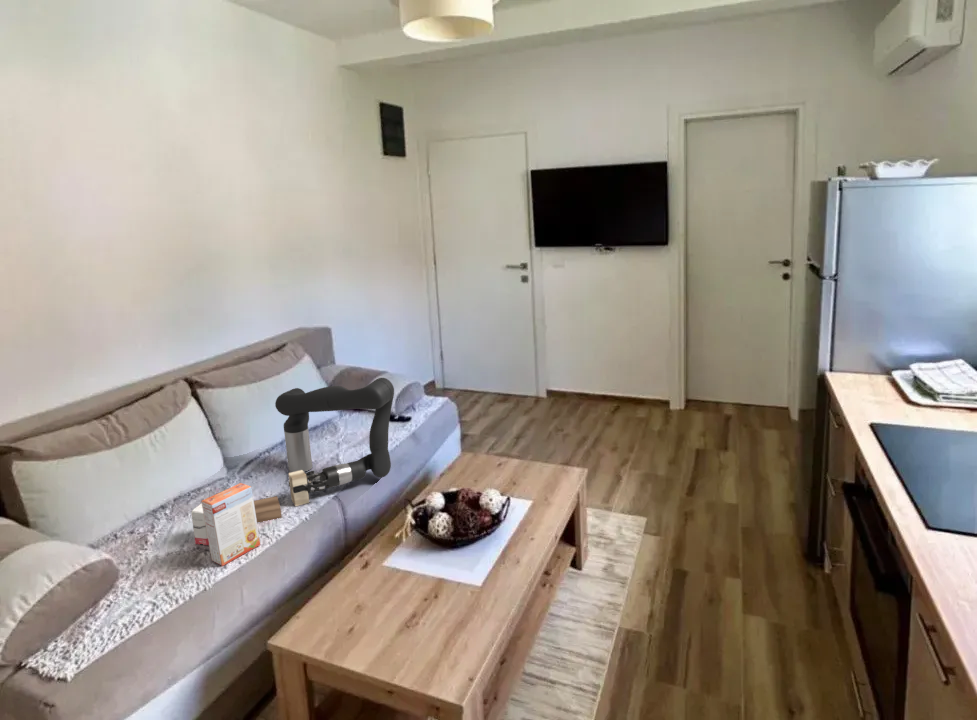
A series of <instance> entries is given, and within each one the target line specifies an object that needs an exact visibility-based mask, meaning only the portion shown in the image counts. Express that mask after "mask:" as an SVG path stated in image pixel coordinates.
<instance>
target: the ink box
mask: <svg viewBox="0 0 977 720" xmlns="http://www.w3.org/2000/svg"><path fill="white" fill-rule="evenodd" d="M190 512H191V513H190V514H191V521H192V528H193V536H194V544H195V545H200V544H203V545H202V546H209V541H208V536H207V530H206V525H205V519H204V513H203V508H202V502H201V503H200V504H199V505H197V506H196V507H194V508H193V509H192V511H190Z"/></svg>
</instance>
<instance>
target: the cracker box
mask: <svg viewBox="0 0 977 720" xmlns="http://www.w3.org/2000/svg"><path fill="white" fill-rule="evenodd" d="M254 501H255V500H254V495H253V489H252V486H250V485H248V484H245V483H242V482H239V483H237V484H236V485H233V486H231V487H229V488H226V489H224V490H223V491H220V492H218V493H216V494H213V495H211V496H208V497H207V498H205V499H204V498H203V499H202V500H201V503H202V508H203V513H204V519H205V525H206V530H207V536H208V541H209V545H208V547H209V553H210V557H211V561H212V562H213V561H214V563H215V562H216V563H215V564H218V565H220V566H222V567H223V566H225V565H228V564H229V563H231V562H233V561H235V560H237V559H238V558H239V557H241V556H243V555H245V554H247V553H249V552H250V551H252V550H254V549H255V548H257V547H259V546H261V541H260V534H259V527H258V523H257V519H256V513H255V506H254Z"/></svg>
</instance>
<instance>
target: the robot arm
mask: <svg viewBox="0 0 977 720" xmlns="http://www.w3.org/2000/svg"><path fill="white" fill-rule="evenodd" d="M394 395H395V388H394V385H393V383H392V382H391V380H389V379H388V378H385V377H378V378H377V379H374V380H373V381H372V382H370V383H369V384H368V385H366V386H364V387H362V388H355V389H348V388H346V387H344V386H341V385H334V386H333V385H331V386H326V387H321V388H317V389H314V390H310V391H307V392H305V391H304V390H303V389H301V388H300V387H299V388H298V387H295V388H293V389H290V390H288V391H285V392H283V393H281V394H279V395H278V397H277V398H276V400H275V403H274V404H275V406H274V407H275V409H276V410H277V412H279V414H280V415H283V416H288V418H286V420H285V421H284V423H283V434H284V442H285V449H286V456H287V459H286V460H287V465H288V471H289V473H291V472H295V471H299V470H303V471H304V473H305V474H306V478H307V483H306V484H304V485H299V486H295V487H293V492H294V493H298V492H301V491H308V494H310V493H311V494H312V493H317V492H322V491H323V492H324V491H325V490H326V489H331V488H334V487H338V486H342V485H346V484H348V483H351V482H354V481H355V482H356V481H359V480H361V479H364V478H365V477H366V474H367V471H368V470H370V471H371V472H372V474H373V475H374V476H376V477H377V478H379V479H380V478H384V477H386V476H388V474H389V473H390V471H391V468H392V467H391V465H392V463H391V455H390V451H389V427H390V421H391V420H390V418H391V412H392V405H393V402H394V401H393V400H394V398H395V397H394ZM353 409H354V410H355V409H358V410H360V409H361V410H375V411H374V415H373V419H372V422H371V426H370V429H369V434H368V436H369V439H368V440H369V451H370V453H369V454H367V455H364V456H363V457H361V458H360V459H357V460H354V461H350V462H346V463H339V464H336V465H332V466H327V467H324V468H322V470H321V472H317V473H315V470H312V469H311V468H313V461H312V460H313V459H312V452H311V451H312V449H311V441H310V433H309V432H310V431H309V422H310V413H318V412H321V413H322V412H337V411H345V410H347V411H348V410H353ZM310 469H311V471H310ZM308 470H309V471H308ZM305 471H307V472H305ZM288 487H289V488H290V482H289V481H288Z"/></svg>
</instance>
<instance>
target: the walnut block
mask: <svg viewBox="0 0 977 720" xmlns="http://www.w3.org/2000/svg"><path fill="white" fill-rule="evenodd" d="M254 506H255V513H256V519H257V522H260V523H264V522H263V521H265V522H268V520H269V521H273V519H274V520H277V518H278V519H282V518H283V517H282V508H281V505H280V501H279V497H278V496H277V495H276V496H270V497H266V498H261V499H256V500H254Z"/></svg>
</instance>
